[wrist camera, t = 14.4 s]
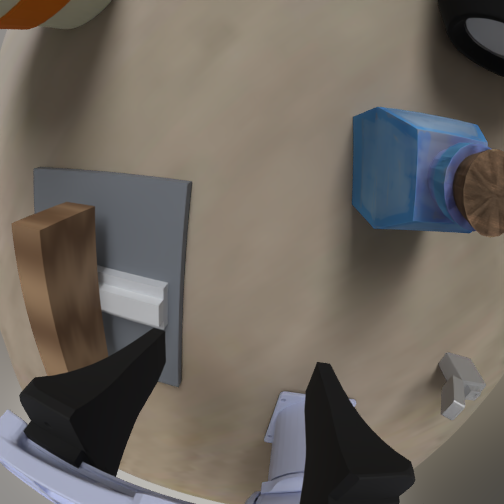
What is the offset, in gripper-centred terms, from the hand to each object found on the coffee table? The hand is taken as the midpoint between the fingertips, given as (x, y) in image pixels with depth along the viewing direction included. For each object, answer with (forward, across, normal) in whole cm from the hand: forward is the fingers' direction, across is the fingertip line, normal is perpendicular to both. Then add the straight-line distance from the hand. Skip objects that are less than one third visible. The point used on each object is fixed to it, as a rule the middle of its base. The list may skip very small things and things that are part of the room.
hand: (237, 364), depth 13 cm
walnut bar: (+7, +14, +4) cm, 16 cm away
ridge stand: (+10, +14, +4) cm, 18 cm away
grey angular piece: (+11, -20, +6) cm, 23 cm away
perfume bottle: (+11, -8, -10) cm, 17 cm away
